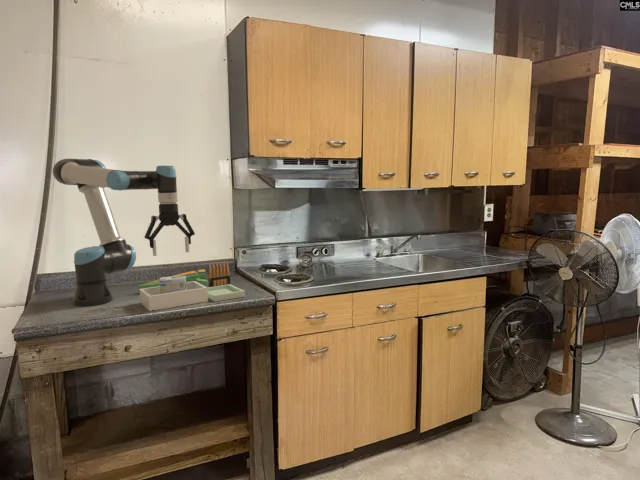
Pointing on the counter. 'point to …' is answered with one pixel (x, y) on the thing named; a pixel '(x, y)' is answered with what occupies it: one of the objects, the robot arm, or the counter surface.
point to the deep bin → (173, 296)
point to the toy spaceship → (190, 277)
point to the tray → (224, 292)
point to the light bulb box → (172, 284)
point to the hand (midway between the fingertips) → (171, 253)
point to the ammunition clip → (219, 275)
